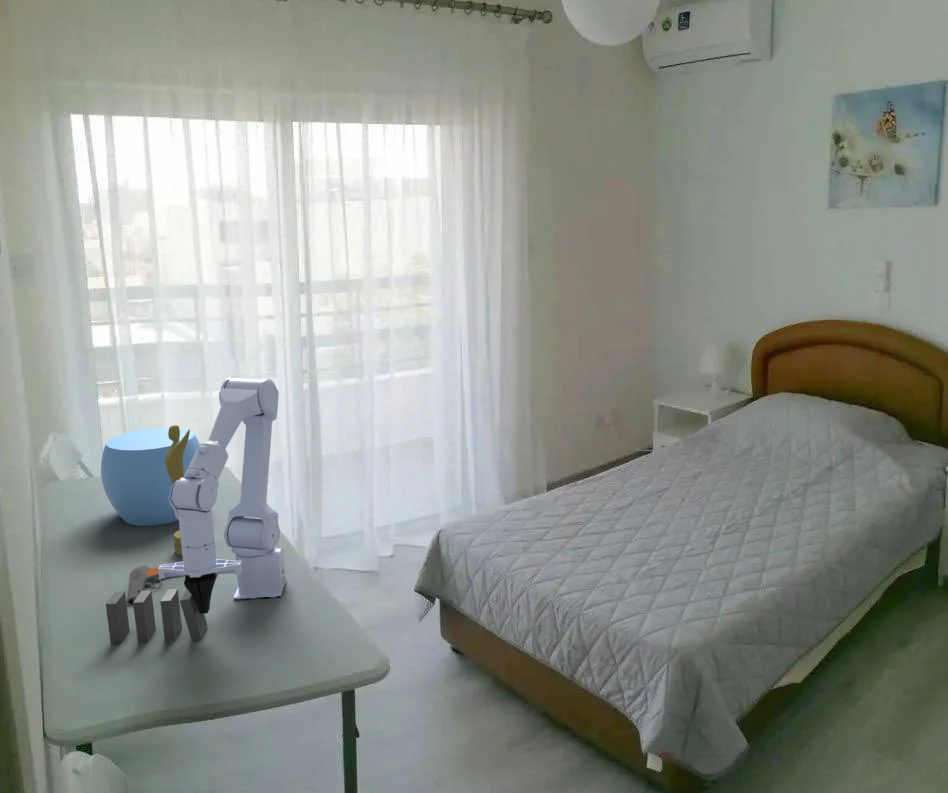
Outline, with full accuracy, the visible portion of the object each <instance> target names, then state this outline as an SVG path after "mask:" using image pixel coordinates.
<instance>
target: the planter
mask: <svg viewBox="0 0 948 793" xmlns="http://www.w3.org/2000/svg"><path fill="white" fill-rule="evenodd" d="M169 428H170V427H156V428H146V429H139V430H134V431H129V432H124V433H121V434H119V435H116V436H115V435H114V436H113V437H111V438H109V439H108V440H107V441H106V442H105V445H104V448H103V451H102V456H101V461H100V462H101V463H100V474H101V475H100V476H101V481H102V482H101V483H102V487H103V490H104V492H105V495H106V497H107V499H108V501H109V503H110V504H111V506H112V507H113V509H114V510H115V511H116V513H117V514H118V515H119V516H120V518H122V520H123V521H125V523H126V524H128V525H132V526H140V527H141V526H143V527H144V526H145V527H147V526H148V527H151V526H160V525H166V524H170V523H174V522H177V521H178V522H179V520H178V519H177V518H176V517H175V511H174V509H173V508H172V507H171V505H170V502H169V497H170V491H171V488H172V485H173V483H172V481H171V478H170V476H169V474H168V471H167V468H166V463H165V458H166V454H167V452H168V450H169V448H170V446H171V445H172V443H173V441H172V440H170V439H169V436H168V431H169ZM179 429H180V438H179V442H180V441H181V440H182V438H183V437H184V436H185V434H186V433H187V432H188V430H189V429H186V428H180V427H179ZM197 437H198V436H196V434H195V432H194V431H192V430H190V434H189V438H188V442H187V445H186V448H185V450H184V454H183V470H184V475H185V473H186V471H187V469H188V467H189V465H190V463H191V461H192V459H193V457H194V455H195V452H196V450H197V448H198V446H199V445H200V444H201V443H200V442H199V439H198V438H197Z"/></svg>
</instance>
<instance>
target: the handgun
mask: <svg viewBox="0 0 948 793" xmlns="http://www.w3.org/2000/svg"><path fill="white" fill-rule="evenodd" d="M177 562H178V561H177ZM177 562H175V563H177ZM181 562H183V560H182V561H181ZM159 567H160V566H157V567H148V565H144V564H143V565H140V566H138V567H135V568H133V569H132V570H131V572H130V580H129V588H128V593H127V594H128V595H127V598H126V604H127V605H131V604H132V603H133V602H134V601H135V599H136V598H137V596H138V595H139V594H140V592H141V591H146V590H151V591H153V590H157V589H159V588H160V587H161V585H162V583H163V581H162V579H159V573H158V568H159ZM172 577H174V576H172ZM172 577H171V578H172ZM166 578H167V577H166ZM166 578H165V579H166ZM150 582H152V583H150ZM157 582H160V583H159V584H158V586H157V585H156V584H154V583H157ZM145 586H146V587H150V586H154V587H155V588H146V587H145Z"/></svg>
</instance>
